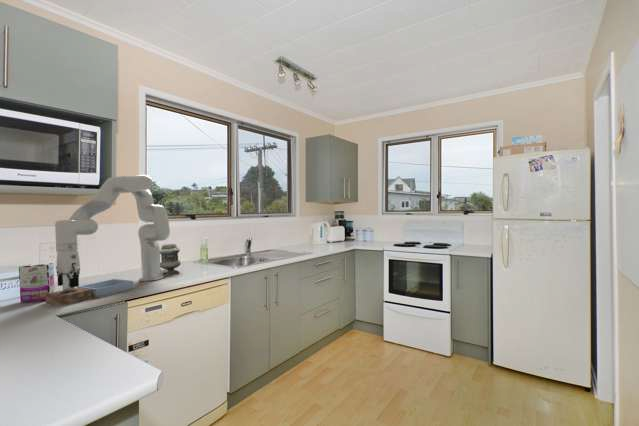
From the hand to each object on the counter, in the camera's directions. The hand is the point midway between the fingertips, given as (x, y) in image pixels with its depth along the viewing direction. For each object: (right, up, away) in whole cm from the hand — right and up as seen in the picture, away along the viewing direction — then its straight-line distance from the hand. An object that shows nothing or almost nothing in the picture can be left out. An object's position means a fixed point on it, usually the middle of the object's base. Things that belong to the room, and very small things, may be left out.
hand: (68, 286), depth 143 cm
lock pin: (0, -7, 0) cm, 7 cm away
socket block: (0, -7, 0) cm, 7 cm away
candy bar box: (-15, -7, +2) cm, 17 cm away
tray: (+7, -6, +15) cm, 17 cm away
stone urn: (+19, -5, +58) cm, 61 cm away
